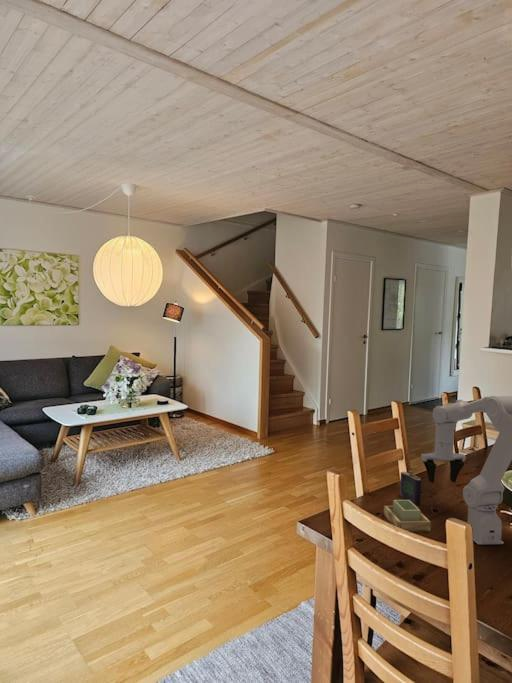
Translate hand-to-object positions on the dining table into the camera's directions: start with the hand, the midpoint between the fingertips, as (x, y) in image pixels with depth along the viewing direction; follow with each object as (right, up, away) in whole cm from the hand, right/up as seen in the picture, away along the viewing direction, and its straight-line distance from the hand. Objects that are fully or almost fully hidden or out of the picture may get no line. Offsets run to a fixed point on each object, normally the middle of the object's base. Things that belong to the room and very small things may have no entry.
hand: (442, 481), depth 152 cm
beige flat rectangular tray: (-15, -10, -9) cm, 20 cm away
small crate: (-15, -10, -9) cm, 20 cm away
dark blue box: (-8, -9, +9) cm, 15 cm away
